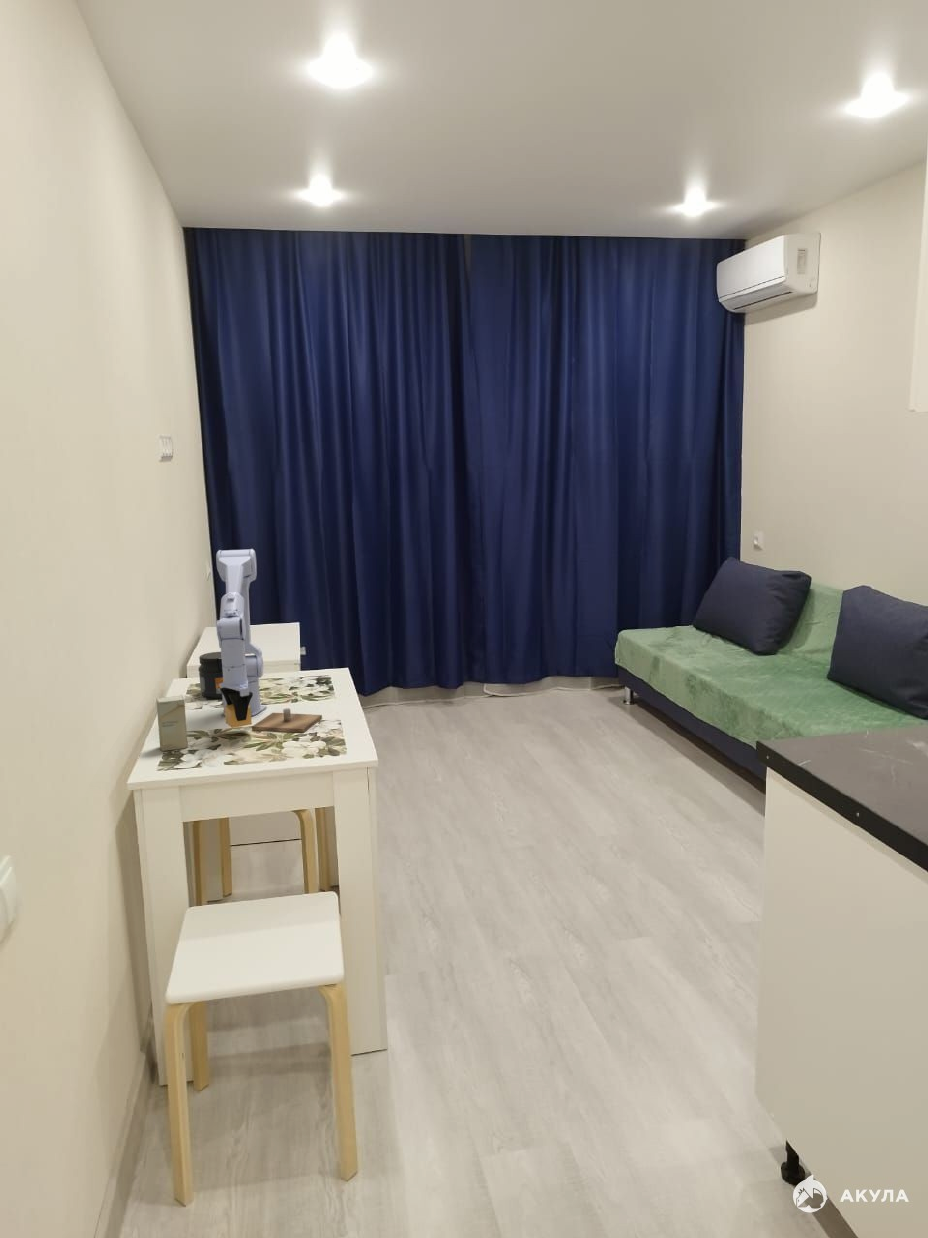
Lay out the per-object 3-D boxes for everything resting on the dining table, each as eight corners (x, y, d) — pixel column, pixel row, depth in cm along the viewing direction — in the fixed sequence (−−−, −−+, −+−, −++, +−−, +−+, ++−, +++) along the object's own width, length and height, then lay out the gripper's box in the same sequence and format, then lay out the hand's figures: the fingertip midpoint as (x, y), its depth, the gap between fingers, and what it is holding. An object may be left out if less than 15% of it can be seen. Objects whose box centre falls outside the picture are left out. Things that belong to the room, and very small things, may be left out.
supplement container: (243, 695, 259) (240, 655, 257) (207, 702, 253) (204, 661, 251) (230, 688, 268) (227, 649, 266) (195, 694, 262) (192, 654, 260)
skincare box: (161, 752, 213) (156, 702, 210) (159, 746, 217) (155, 698, 214) (189, 747, 215) (184, 699, 213) (186, 742, 219) (182, 694, 217)
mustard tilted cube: (231, 728, 221) (230, 710, 220) (225, 723, 225) (224, 705, 224) (251, 724, 224) (250, 707, 223) (245, 719, 228) (244, 702, 227)
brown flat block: (252, 730, 227) (251, 715, 226) (273, 716, 239) (271, 701, 238) (303, 732, 224) (302, 717, 223) (322, 718, 235) (321, 704, 235)
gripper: (209, 661, 225) (214, 713, 228) (226, 673, 213) (231, 727, 216) (237, 657, 229) (241, 708, 232) (255, 668, 217) (259, 722, 219)
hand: (238, 717), depth 224 cm, fingers closed on mustard tilted cube, 5 cm apart
